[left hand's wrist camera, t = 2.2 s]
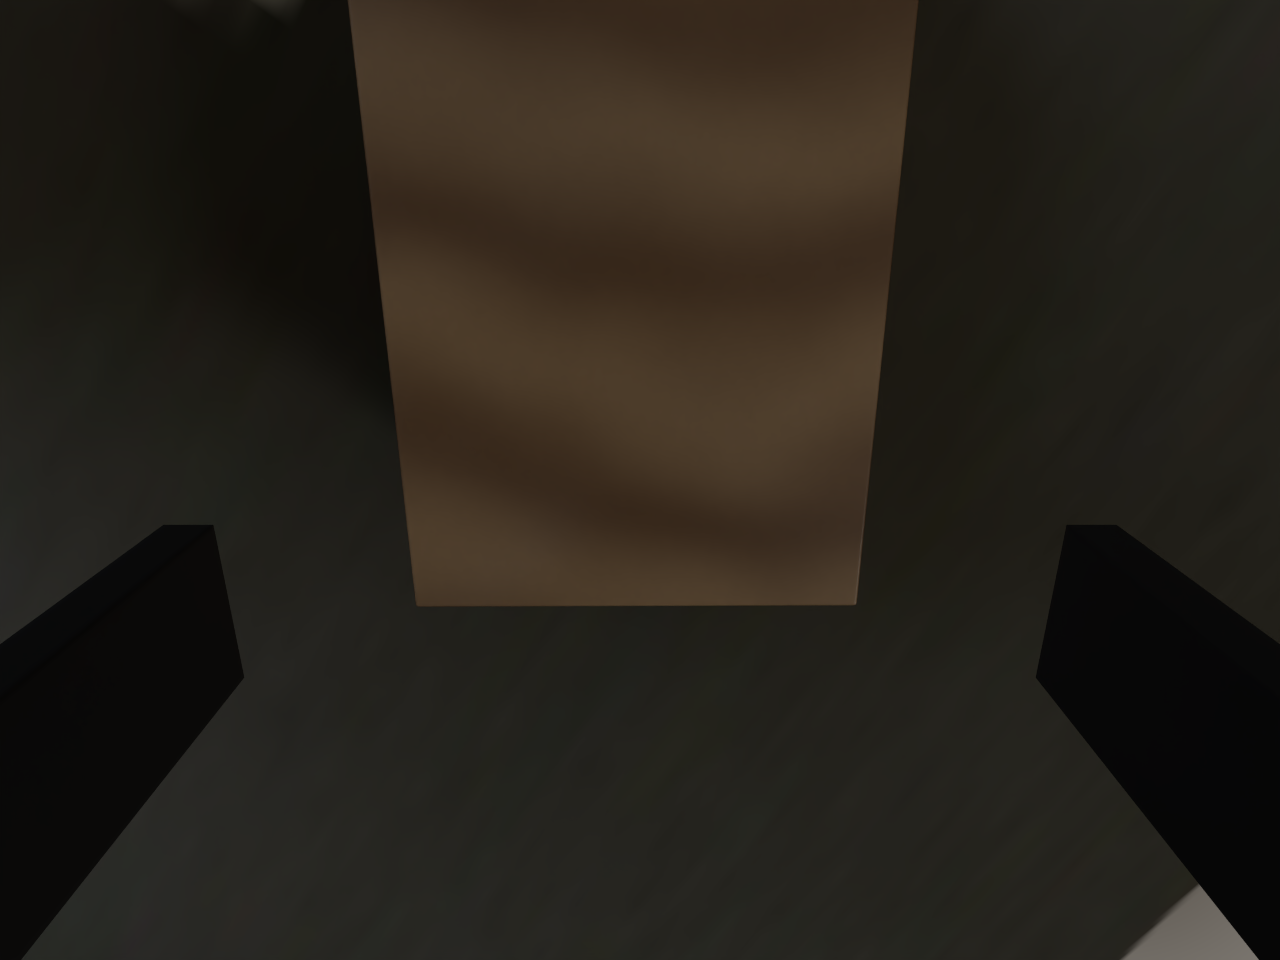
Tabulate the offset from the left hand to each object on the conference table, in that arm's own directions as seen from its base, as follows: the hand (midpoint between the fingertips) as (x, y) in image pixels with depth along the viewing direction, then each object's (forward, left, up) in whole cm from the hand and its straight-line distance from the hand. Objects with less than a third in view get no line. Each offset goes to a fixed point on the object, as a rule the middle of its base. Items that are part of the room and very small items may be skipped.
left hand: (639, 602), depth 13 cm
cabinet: (+2, +5, -16) cm, 16 cm away
